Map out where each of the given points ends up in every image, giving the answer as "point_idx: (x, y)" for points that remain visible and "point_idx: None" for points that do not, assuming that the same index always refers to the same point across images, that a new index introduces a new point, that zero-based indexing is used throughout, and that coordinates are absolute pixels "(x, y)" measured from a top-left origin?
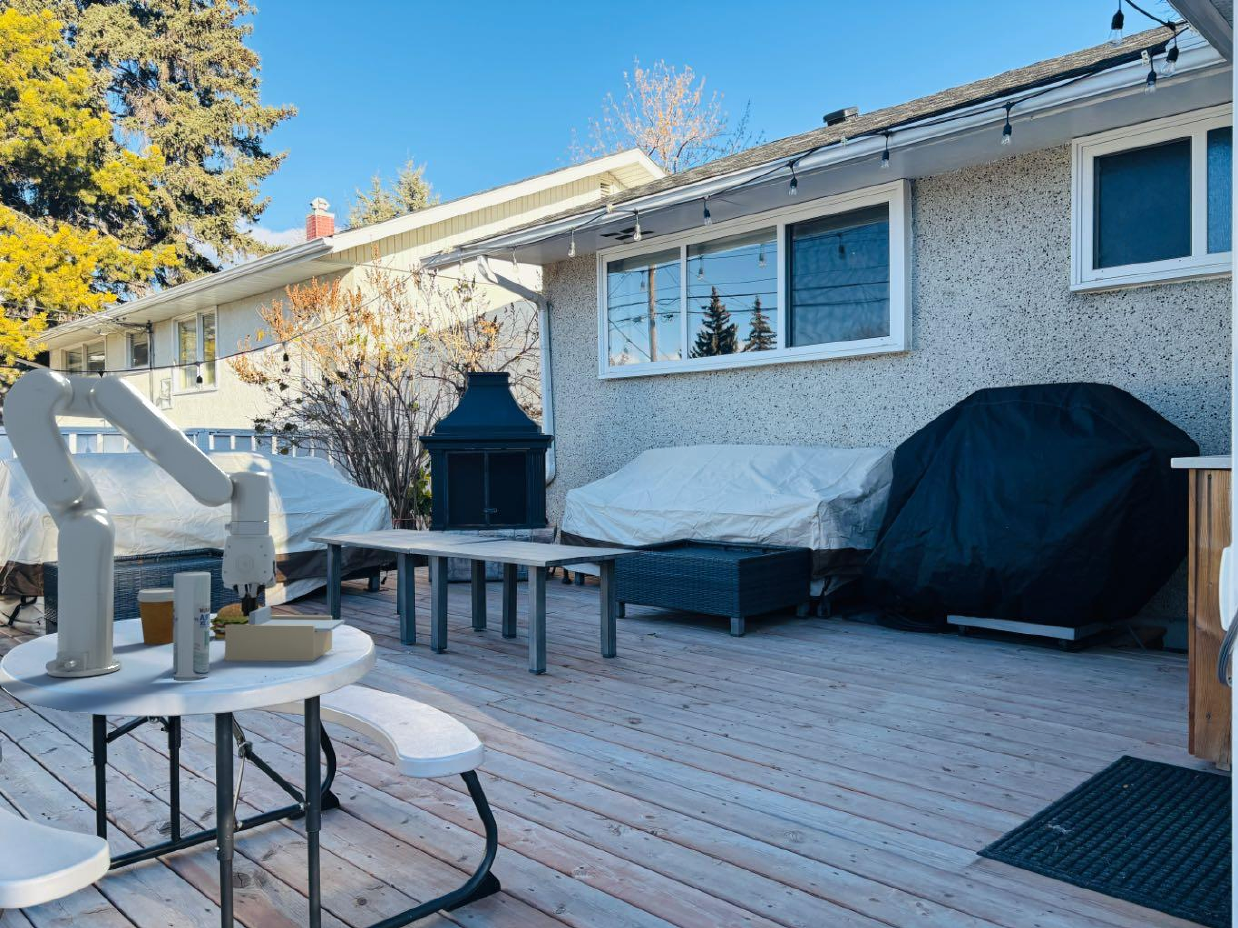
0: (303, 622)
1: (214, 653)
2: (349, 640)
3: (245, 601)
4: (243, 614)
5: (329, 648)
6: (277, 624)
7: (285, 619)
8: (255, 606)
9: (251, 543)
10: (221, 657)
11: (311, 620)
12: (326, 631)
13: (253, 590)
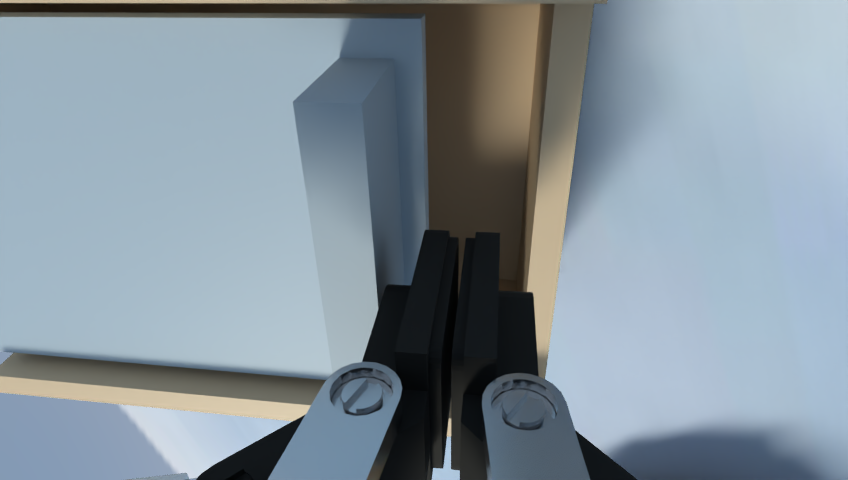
0: (93, 271)
1: (719, 255)
2: (205, 457)
3: (470, 325)
4: (498, 239)
5: None
6: (222, 194)
7: (286, 383)
8: (378, 310)
9: None
10: (652, 152)
11: (94, 336)
12: None
13: (343, 444)
